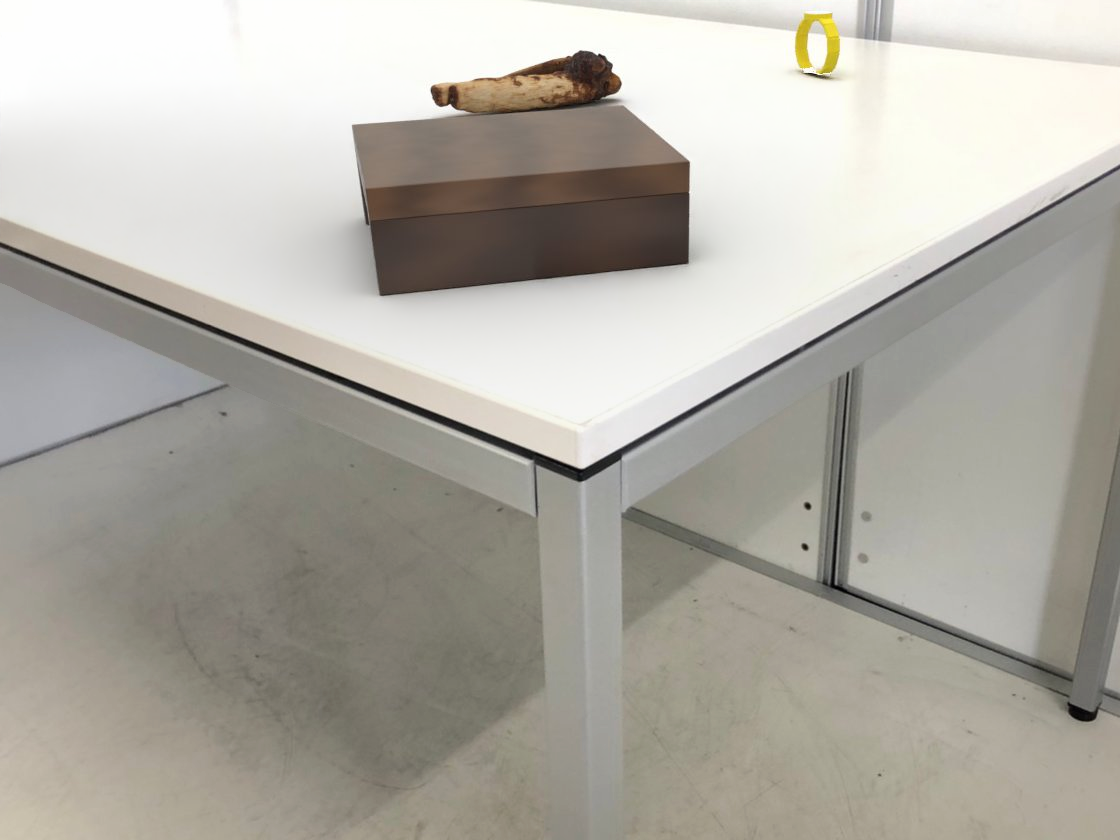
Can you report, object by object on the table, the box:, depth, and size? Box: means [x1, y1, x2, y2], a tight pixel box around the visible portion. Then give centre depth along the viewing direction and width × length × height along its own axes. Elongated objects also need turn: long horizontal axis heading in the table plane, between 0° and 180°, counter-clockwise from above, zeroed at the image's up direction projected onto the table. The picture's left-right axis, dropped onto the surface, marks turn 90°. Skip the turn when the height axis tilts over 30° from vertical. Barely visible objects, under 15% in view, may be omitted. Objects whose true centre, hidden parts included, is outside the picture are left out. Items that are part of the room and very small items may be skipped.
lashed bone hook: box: [430, 49, 623, 114], centre depth 101 cm, size 9×5×18 cm
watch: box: [794, 10, 841, 74], centre depth 112 cm, size 6×3×6 cm, turn 27°
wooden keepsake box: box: [351, 104, 691, 296], centre depth 68 cm, size 18×15×6 cm
